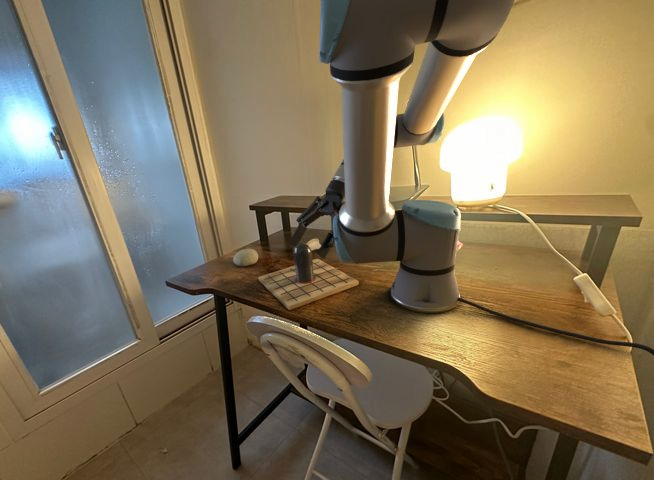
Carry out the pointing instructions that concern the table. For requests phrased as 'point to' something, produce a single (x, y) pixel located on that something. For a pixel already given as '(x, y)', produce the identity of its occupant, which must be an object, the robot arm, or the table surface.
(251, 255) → the sea urchin shell
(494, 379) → the table surface
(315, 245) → the ceramic fragment
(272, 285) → the game board
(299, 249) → the dark grey rounded cylinder
